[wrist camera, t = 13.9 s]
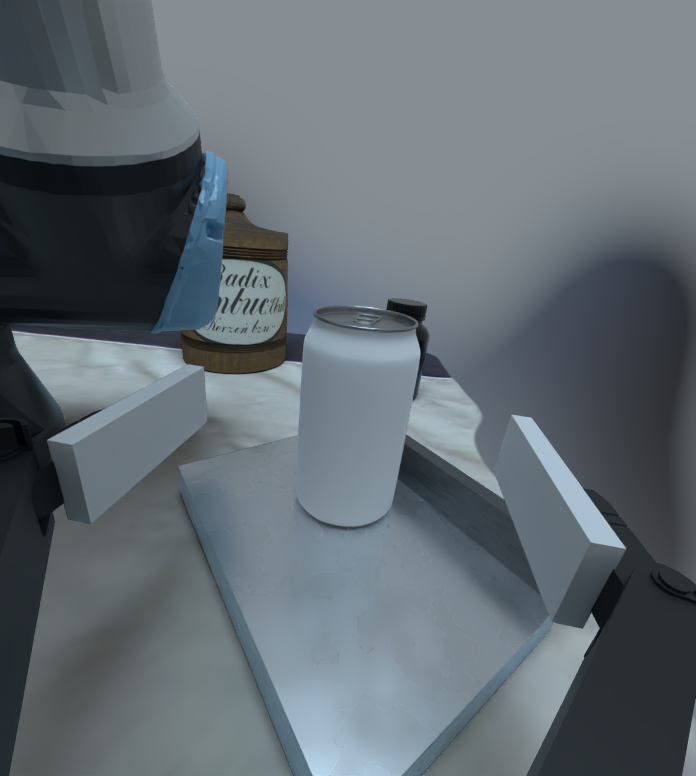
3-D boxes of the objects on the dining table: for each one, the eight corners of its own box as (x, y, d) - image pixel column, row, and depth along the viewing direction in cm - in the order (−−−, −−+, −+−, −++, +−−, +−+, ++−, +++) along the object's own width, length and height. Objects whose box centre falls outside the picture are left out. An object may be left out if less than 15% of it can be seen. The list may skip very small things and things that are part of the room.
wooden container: (181, 377, 45) (163, 178, 36) (184, 343, 57) (171, 189, 49) (295, 372, 50) (303, 199, 42) (275, 342, 63) (278, 204, 54)
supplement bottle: (404, 408, 43) (422, 309, 38) (357, 391, 46) (368, 298, 41) (425, 392, 48) (443, 304, 44) (381, 378, 52) (394, 294, 47)
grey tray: (181, 494, 25) (174, 428, 23) (343, 445, 34) (349, 393, 32) (333, 873, 11) (352, 790, 9) (553, 626, 19) (590, 551, 17)
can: (278, 516, 21) (285, 317, 16) (313, 458, 27) (325, 299, 22) (385, 544, 20) (424, 339, 15) (397, 477, 26) (428, 314, 21)
